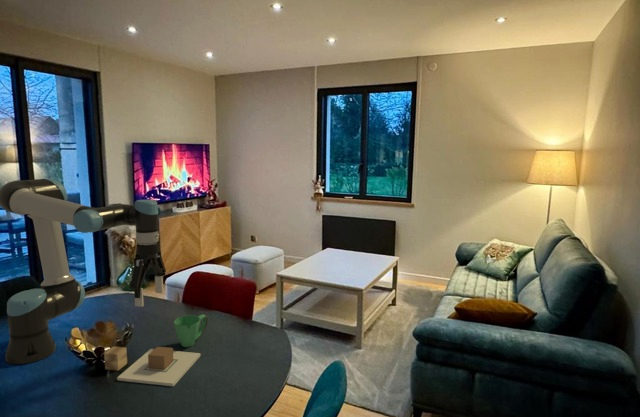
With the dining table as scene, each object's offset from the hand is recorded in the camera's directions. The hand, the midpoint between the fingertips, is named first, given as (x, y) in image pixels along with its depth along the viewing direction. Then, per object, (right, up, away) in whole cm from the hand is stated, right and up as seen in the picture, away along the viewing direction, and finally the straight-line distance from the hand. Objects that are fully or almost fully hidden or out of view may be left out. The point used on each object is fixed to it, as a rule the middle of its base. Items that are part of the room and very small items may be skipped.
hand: (149, 299), depth 146 cm
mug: (+11, -21, +14) cm, 27 cm away
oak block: (-10, -23, -5) cm, 25 cm away
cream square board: (+6, -23, -6) cm, 24 cm away
